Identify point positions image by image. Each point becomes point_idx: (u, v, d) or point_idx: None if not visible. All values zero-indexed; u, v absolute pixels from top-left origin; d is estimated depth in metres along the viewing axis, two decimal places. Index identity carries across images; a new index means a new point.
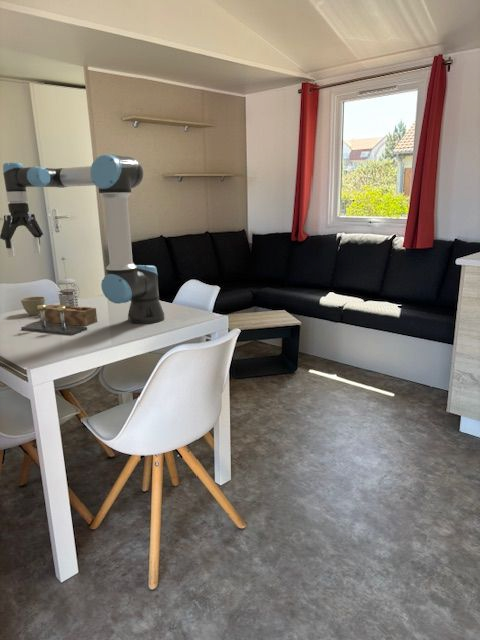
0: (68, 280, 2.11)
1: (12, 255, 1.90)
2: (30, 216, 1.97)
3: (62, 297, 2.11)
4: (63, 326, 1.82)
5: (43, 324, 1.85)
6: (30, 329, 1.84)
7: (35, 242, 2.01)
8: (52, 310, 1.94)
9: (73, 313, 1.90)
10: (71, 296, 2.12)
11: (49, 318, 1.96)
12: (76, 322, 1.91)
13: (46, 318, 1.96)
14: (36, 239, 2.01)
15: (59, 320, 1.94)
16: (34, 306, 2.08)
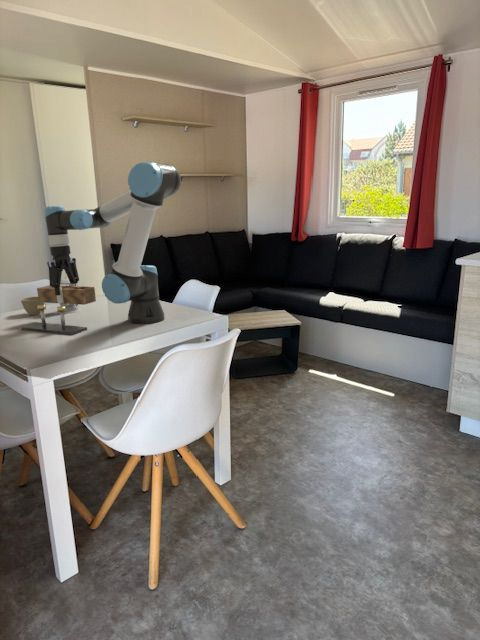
0: (68, 280, 2.11)
1: (61, 302, 1.90)
2: (71, 259, 1.95)
3: None
4: (63, 326, 1.82)
5: (43, 324, 1.85)
6: (30, 329, 1.84)
7: None
8: (50, 290, 1.92)
9: (71, 292, 1.88)
10: None
11: (47, 298, 1.93)
12: (74, 301, 1.88)
13: (44, 298, 1.94)
14: (73, 285, 1.96)
15: None
16: (34, 306, 2.08)
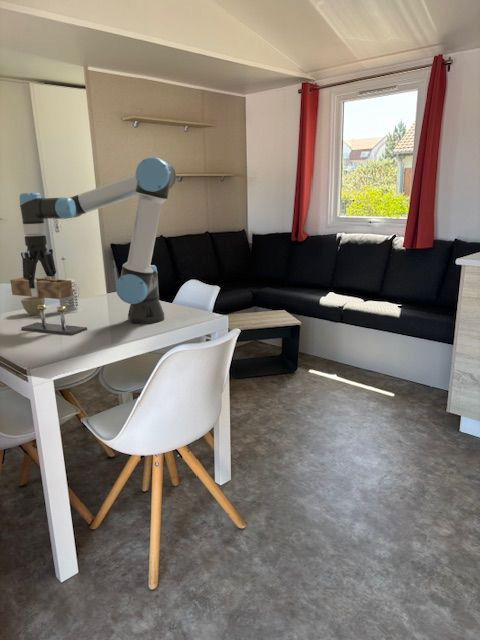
0: None
1: (36, 295, 1.78)
2: (48, 250, 1.83)
3: None
4: (63, 326, 1.82)
5: (43, 324, 1.85)
6: (30, 329, 1.84)
7: None
8: (24, 282, 1.80)
9: (46, 285, 1.76)
10: (71, 296, 2.12)
11: (21, 291, 1.82)
12: (49, 295, 1.77)
13: (18, 291, 1.82)
14: (49, 278, 1.84)
15: None
16: (34, 306, 2.08)
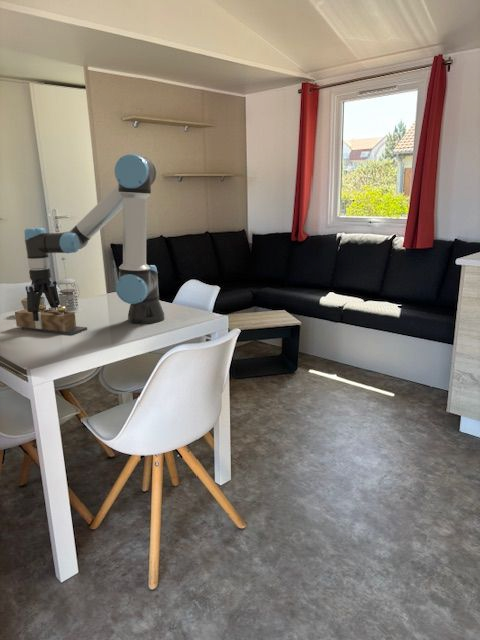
0: (68, 280, 2.11)
1: (39, 327, 1.81)
2: (52, 283, 1.86)
3: (62, 297, 2.11)
4: None
5: None
6: (30, 329, 1.84)
7: None
8: (28, 314, 1.83)
9: (50, 317, 1.79)
10: (71, 296, 2.12)
11: (25, 323, 1.85)
12: (53, 327, 1.80)
13: (22, 323, 1.85)
14: None
15: None
16: None
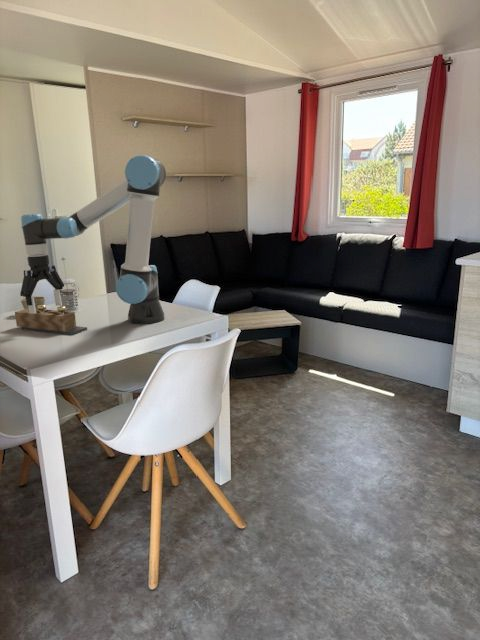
0: (68, 280, 2.11)
1: (33, 312, 1.77)
2: (50, 268, 1.84)
3: (62, 297, 2.11)
4: None
5: None
6: (30, 329, 1.84)
7: (56, 294, 1.88)
8: (28, 314, 1.83)
9: (50, 317, 1.79)
10: (71, 296, 2.12)
11: (25, 323, 1.85)
12: (53, 327, 1.80)
13: (22, 323, 1.85)
14: (57, 291, 1.88)
15: (36, 325, 1.83)
16: None
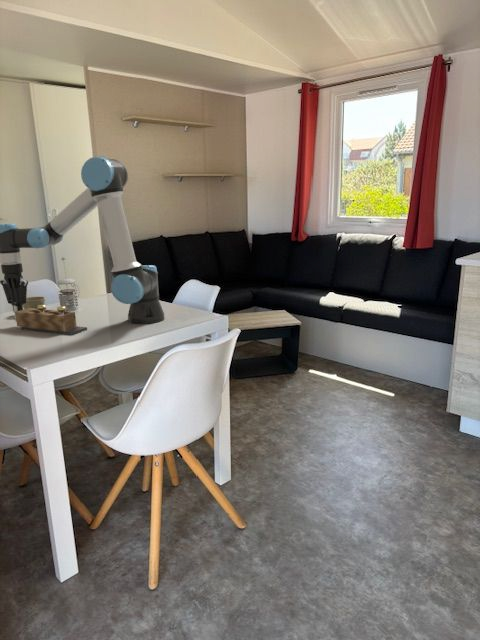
0: (68, 280, 2.11)
1: None
2: (21, 281, 1.85)
3: (62, 297, 2.11)
4: None
5: None
6: (30, 329, 1.84)
7: None
8: (29, 314, 1.83)
9: (50, 318, 1.79)
10: (71, 296, 2.12)
11: (26, 323, 1.85)
12: (53, 328, 1.80)
13: (23, 323, 1.85)
14: None
15: (36, 325, 1.83)
16: (34, 306, 2.08)
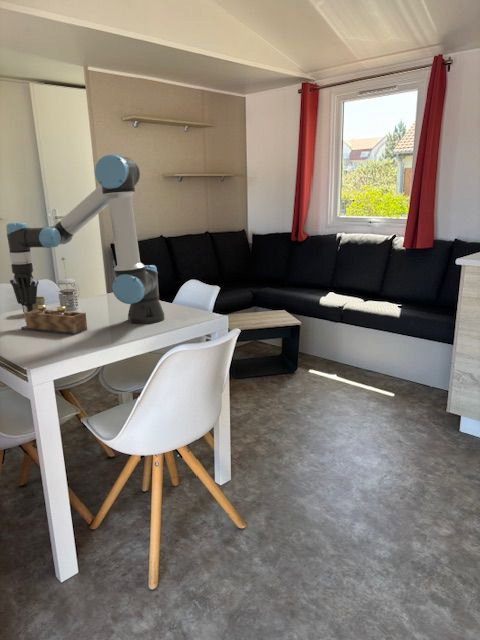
0: (68, 280, 2.11)
1: None
2: (31, 281, 1.82)
3: (62, 297, 2.11)
4: None
5: None
6: (30, 329, 1.84)
7: None
8: (39, 315, 1.81)
9: (61, 319, 1.77)
10: (71, 296, 2.12)
11: (36, 324, 1.83)
12: (64, 329, 1.78)
13: (33, 324, 1.83)
14: None
15: (46, 326, 1.81)
16: (34, 306, 2.08)
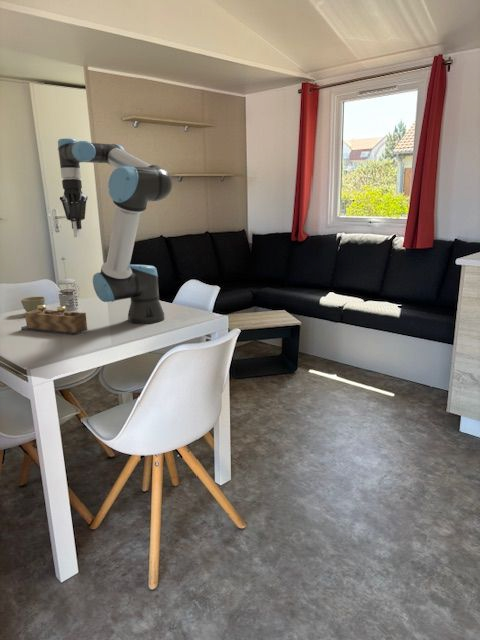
0: (68, 280, 2.11)
1: None
2: (81, 196, 1.92)
3: (62, 297, 2.11)
4: None
5: None
6: (30, 329, 1.84)
7: None
8: (39, 315, 1.81)
9: (61, 319, 1.77)
10: (71, 296, 2.12)
11: (36, 324, 1.83)
12: (64, 329, 1.78)
13: (33, 324, 1.83)
14: None
15: (46, 326, 1.81)
16: (34, 306, 2.08)
